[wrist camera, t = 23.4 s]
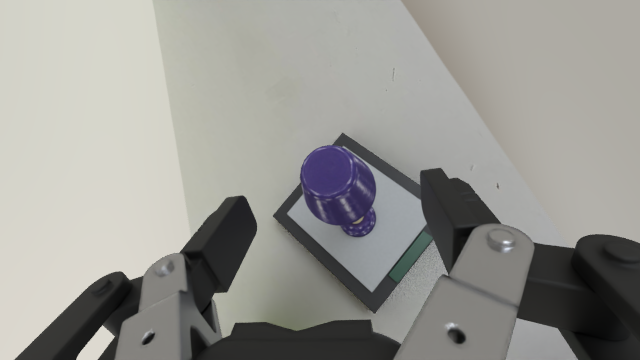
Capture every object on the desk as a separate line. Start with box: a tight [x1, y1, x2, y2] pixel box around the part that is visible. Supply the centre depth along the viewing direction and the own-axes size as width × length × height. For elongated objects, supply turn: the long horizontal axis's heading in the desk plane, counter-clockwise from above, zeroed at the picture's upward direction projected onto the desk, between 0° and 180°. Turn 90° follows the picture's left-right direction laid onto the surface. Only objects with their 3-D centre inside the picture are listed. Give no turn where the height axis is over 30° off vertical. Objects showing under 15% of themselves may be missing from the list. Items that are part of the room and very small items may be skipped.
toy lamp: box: [300, 145, 376, 237], centre depth 20 cm, size 5×5×17 cm
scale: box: [273, 133, 433, 313], centre depth 29 cm, size 16×14×3 cm
